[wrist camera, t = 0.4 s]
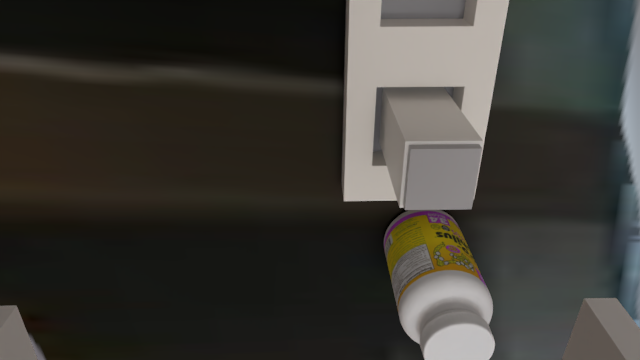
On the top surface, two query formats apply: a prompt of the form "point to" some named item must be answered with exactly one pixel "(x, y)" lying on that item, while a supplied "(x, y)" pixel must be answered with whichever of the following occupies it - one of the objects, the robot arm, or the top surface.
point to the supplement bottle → (438, 287)
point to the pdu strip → (412, 72)
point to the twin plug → (428, 149)
